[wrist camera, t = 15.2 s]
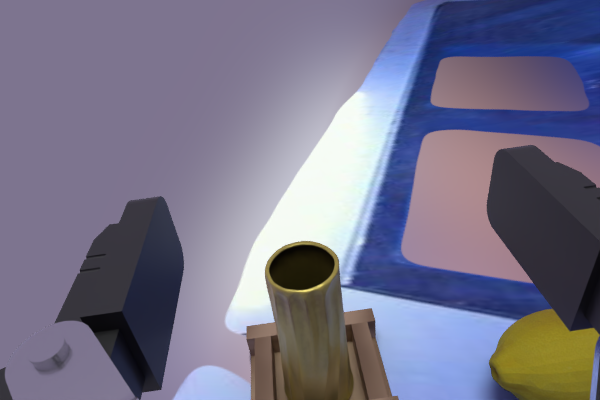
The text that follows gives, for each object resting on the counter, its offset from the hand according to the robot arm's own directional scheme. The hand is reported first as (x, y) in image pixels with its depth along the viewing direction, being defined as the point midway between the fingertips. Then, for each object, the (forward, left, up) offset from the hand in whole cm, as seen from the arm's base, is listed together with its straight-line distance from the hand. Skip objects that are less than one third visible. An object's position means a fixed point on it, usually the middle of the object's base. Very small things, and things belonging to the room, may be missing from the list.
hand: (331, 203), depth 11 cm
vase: (+1, -14, -29) cm, 32 cm away
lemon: (-18, -11, -30) cm, 37 cm away
